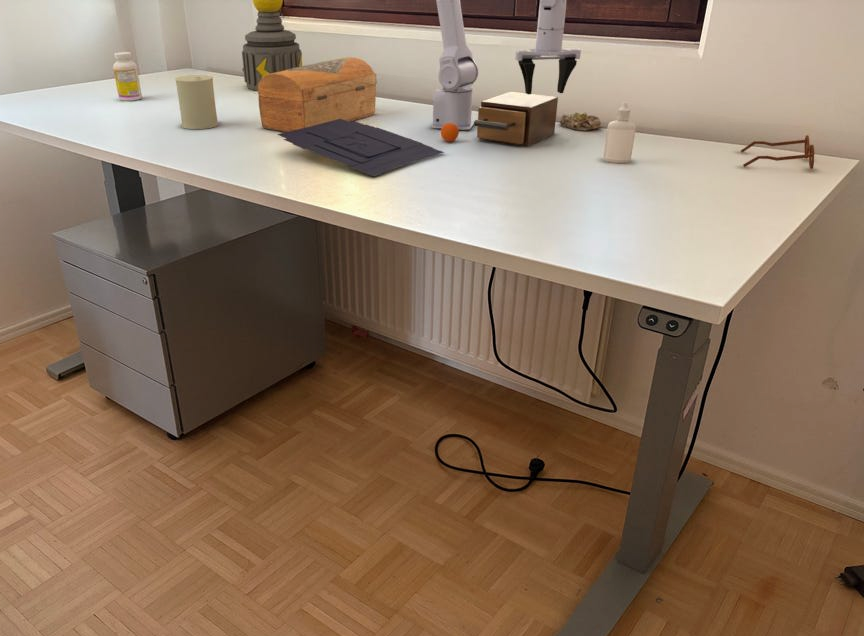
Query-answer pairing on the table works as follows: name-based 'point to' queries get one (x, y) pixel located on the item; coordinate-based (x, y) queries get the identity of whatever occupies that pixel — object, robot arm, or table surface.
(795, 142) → the glasses
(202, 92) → the can
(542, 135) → the cabinet
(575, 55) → the robot arm
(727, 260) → the table surface
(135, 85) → the supplement bottle
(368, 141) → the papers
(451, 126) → the ball
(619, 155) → the eye dropper bottle
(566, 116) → the mineral rock
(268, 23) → the decorative lamp
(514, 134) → the drawer
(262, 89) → the wooden box
